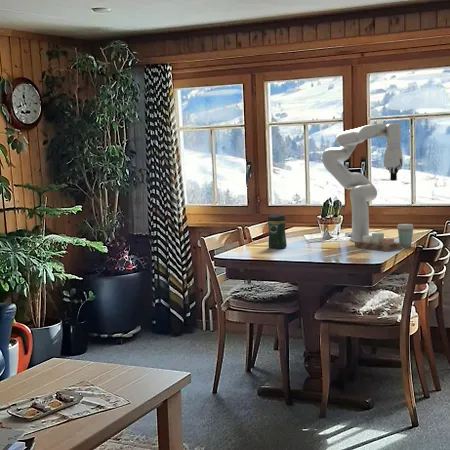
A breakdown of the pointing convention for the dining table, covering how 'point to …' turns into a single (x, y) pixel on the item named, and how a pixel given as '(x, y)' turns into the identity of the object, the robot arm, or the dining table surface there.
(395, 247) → the brown tray
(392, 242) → the key terracotta
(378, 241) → the key sage
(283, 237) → the coffee jar
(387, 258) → the dining table surface
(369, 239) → the pale grey block
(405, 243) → the coffee cup
